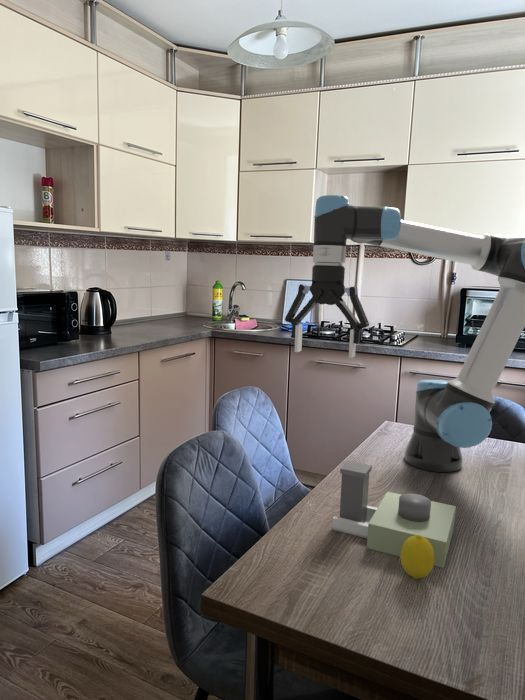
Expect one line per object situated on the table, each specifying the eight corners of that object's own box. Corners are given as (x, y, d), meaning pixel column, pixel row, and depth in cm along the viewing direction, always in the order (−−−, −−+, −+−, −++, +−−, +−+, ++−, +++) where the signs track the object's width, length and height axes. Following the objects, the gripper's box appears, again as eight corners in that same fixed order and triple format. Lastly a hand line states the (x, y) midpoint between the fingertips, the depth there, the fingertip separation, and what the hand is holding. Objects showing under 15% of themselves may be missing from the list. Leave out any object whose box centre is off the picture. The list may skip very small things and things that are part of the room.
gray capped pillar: (337, 523, 107) (340, 468, 105) (344, 513, 112) (347, 460, 110) (361, 530, 105) (365, 473, 103) (368, 519, 110) (371, 465, 108)
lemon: (434, 590, 87) (438, 545, 85) (399, 585, 88) (403, 541, 86) (430, 571, 92) (434, 529, 91) (398, 567, 93) (401, 525, 92)
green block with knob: (326, 537, 103) (328, 499, 101) (349, 505, 117) (352, 471, 116) (443, 568, 93) (447, 526, 92) (453, 528, 107) (457, 492, 106)
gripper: (273, 263, 124) (270, 351, 127) (378, 266, 113) (371, 362, 117) (286, 263, 130) (283, 347, 134) (385, 266, 120) (379, 357, 123)
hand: (324, 354), depth 125 cm, fingers open, 13 cm apart
